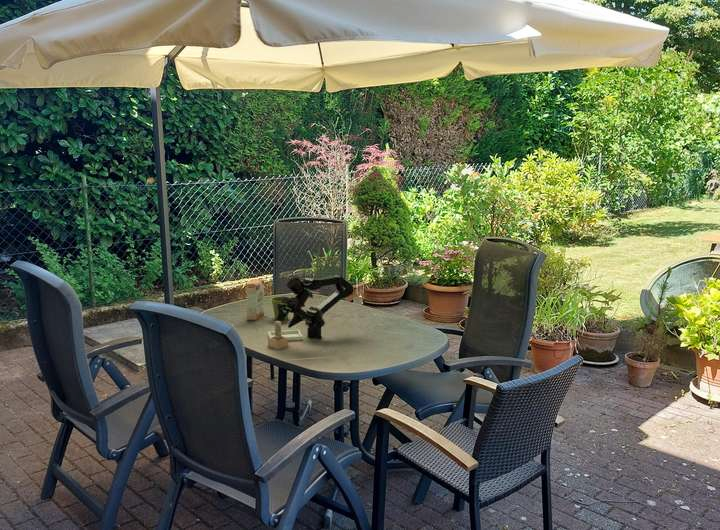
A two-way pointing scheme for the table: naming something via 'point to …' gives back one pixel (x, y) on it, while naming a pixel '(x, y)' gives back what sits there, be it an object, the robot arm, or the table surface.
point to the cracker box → (255, 299)
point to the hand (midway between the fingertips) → (282, 325)
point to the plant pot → (275, 303)
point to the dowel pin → (277, 330)
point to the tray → (288, 334)
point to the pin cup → (278, 342)
